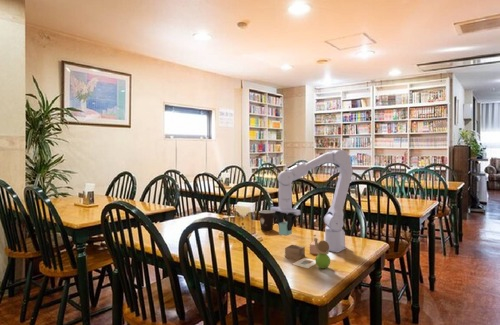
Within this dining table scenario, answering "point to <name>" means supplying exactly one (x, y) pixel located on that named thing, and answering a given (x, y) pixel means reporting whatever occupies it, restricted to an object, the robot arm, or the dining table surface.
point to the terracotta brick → (313, 248)
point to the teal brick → (284, 229)
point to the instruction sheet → (305, 263)
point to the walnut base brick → (295, 252)
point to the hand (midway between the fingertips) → (285, 229)
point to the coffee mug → (266, 220)
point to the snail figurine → (322, 253)
